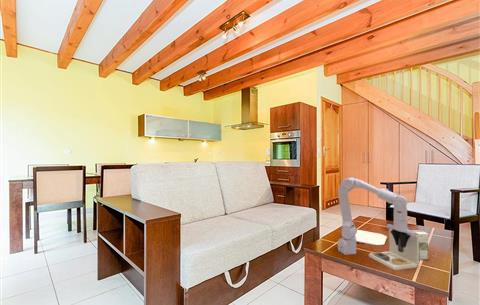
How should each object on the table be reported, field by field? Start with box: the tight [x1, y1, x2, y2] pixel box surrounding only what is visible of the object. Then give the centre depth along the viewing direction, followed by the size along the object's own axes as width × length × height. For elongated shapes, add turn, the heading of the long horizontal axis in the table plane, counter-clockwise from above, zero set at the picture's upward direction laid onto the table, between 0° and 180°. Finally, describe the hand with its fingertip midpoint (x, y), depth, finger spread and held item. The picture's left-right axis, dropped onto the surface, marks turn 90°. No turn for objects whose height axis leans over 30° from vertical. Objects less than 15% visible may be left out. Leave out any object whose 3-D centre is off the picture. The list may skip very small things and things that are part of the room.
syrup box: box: [412, 230, 429, 261], centre depth 127 cm, size 6×6×14 cm
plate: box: [341, 229, 388, 246], centre depth 157 cm, size 25×25×2 cm
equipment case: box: [368, 228, 420, 271], centre depth 120 cm, size 15×16×16 cm
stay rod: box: [398, 237, 404, 252], centre depth 117 cm, size 2×2×7 cm
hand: (400, 246), depth 117 cm, fingers closed on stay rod, 2 cm apart
